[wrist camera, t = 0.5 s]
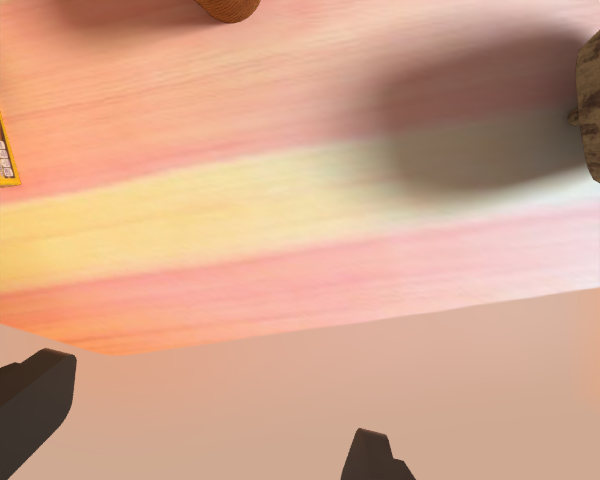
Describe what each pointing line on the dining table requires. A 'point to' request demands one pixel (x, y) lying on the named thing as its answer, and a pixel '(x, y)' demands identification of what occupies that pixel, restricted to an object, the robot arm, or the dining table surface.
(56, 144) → the dining table surface
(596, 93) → the tabletop clock
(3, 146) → the candy box
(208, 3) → the disposable coffee cup
